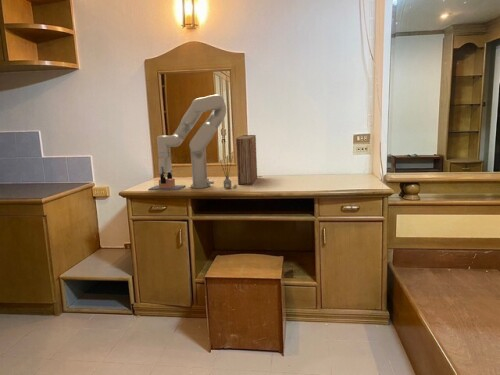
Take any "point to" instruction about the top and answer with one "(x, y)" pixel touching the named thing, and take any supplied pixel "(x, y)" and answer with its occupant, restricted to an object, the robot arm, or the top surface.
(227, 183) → the reed diffuser
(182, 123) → the robot arm
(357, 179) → the top surface
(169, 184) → the card box
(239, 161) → the brown wooden block
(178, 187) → the mat
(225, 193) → the top surface
